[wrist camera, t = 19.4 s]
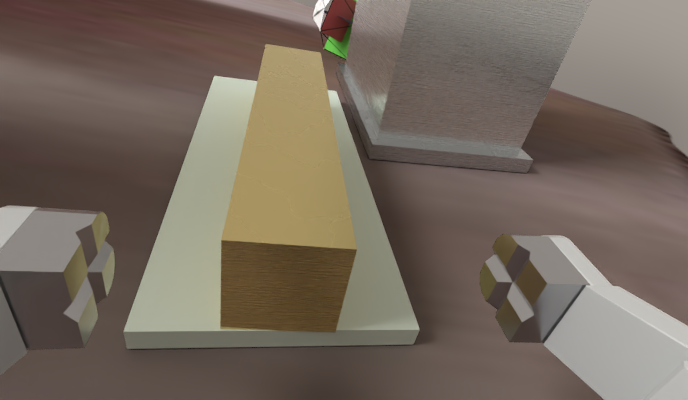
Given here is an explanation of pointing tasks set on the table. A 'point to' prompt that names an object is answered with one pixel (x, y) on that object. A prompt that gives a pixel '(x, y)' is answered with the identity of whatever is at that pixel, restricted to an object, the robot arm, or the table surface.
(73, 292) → the robot arm
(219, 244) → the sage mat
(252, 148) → the brass bar
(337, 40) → the geometric puzzle
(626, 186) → the table surface
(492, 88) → the rack post
